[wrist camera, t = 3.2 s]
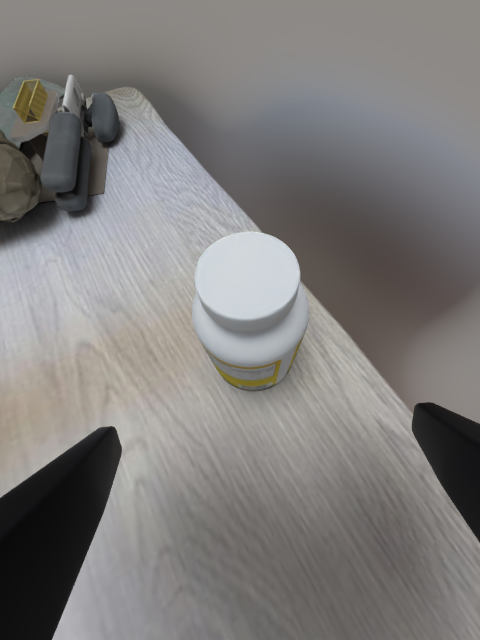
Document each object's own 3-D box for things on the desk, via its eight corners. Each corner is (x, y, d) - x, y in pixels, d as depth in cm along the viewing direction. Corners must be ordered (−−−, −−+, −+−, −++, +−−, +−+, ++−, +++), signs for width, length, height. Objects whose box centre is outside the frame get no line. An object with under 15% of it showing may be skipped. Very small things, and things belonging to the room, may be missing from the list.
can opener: (53, 69, 33) (108, 68, 33) (74, 115, 37) (122, 113, 38) (31, 176, 25) (102, 172, 26) (61, 217, 30) (121, 212, 30)
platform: (112, 109, 39) (87, 50, 34) (103, 193, 32) (69, 135, 26) (31, 120, 39) (-9, 62, 33) (2, 207, 31) (-57, 152, 26)
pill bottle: (273, 308, 24) (285, 199, 13) (306, 375, 21) (353, 306, 11) (204, 333, 23) (159, 240, 13) (228, 406, 20) (196, 364, 10)
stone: (8, 82, 38) (25, 38, 32) (51, 119, 43) (74, 87, 36) (-63, 173, 34) (-60, 143, 27) (-7, 205, 38) (7, 185, 31)
